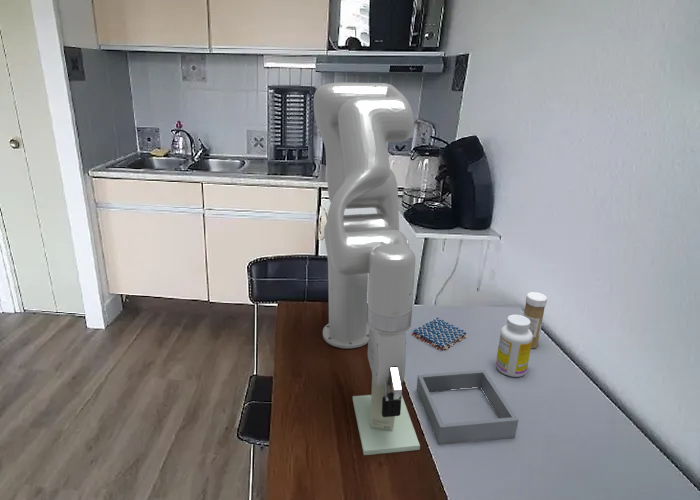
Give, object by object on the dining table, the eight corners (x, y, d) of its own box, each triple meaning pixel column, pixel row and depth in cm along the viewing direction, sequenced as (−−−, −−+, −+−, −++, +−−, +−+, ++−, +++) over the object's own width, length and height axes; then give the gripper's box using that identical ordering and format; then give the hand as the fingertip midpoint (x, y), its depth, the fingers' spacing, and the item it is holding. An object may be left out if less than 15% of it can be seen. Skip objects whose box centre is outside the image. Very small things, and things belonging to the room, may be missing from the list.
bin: (416, 390, 92) (417, 375, 91) (482, 385, 94) (484, 369, 93) (438, 444, 79) (440, 427, 77) (515, 437, 81) (518, 420, 79)
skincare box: (393, 431, 80) (396, 376, 76) (369, 428, 81) (371, 373, 76) (396, 407, 86) (399, 355, 82) (374, 404, 87) (376, 352, 82)
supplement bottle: (527, 364, 101) (536, 316, 96) (525, 381, 95) (534, 330, 91) (497, 357, 104) (505, 309, 99) (493, 373, 98) (501, 323, 93)
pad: (352, 400, 89) (352, 396, 89) (400, 396, 91) (400, 392, 90) (363, 455, 76) (363, 450, 76) (419, 449, 78) (419, 445, 77)
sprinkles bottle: (541, 345, 108) (551, 296, 103) (530, 351, 106) (540, 302, 101) (525, 336, 112) (534, 289, 107) (514, 342, 109) (522, 294, 104)
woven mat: (409, 336, 112) (409, 329, 112) (435, 322, 119) (436, 315, 118) (442, 354, 105) (442, 347, 104) (468, 338, 112) (468, 332, 111)
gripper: (359, 293, 82) (358, 369, 89) (377, 346, 66) (373, 433, 73) (398, 291, 83) (394, 366, 90) (425, 343, 67) (417, 429, 74)
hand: (385, 396), depth 81 cm, fingers open, 9 cm apart
